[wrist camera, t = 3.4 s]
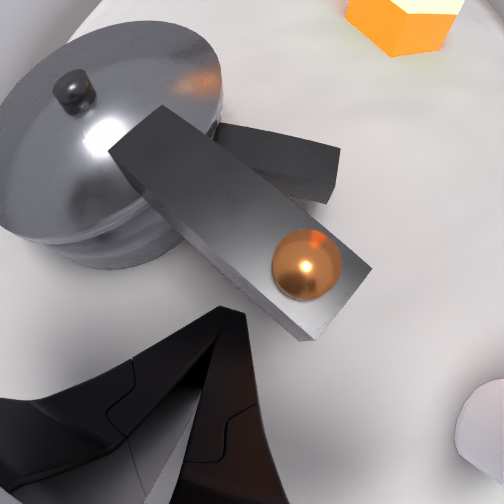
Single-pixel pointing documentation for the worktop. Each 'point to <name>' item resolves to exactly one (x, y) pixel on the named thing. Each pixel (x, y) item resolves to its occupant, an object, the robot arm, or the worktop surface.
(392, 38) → the orange juice
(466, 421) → the foam cup
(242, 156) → the cooker pot
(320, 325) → the cooker lid
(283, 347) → the worktop surface
